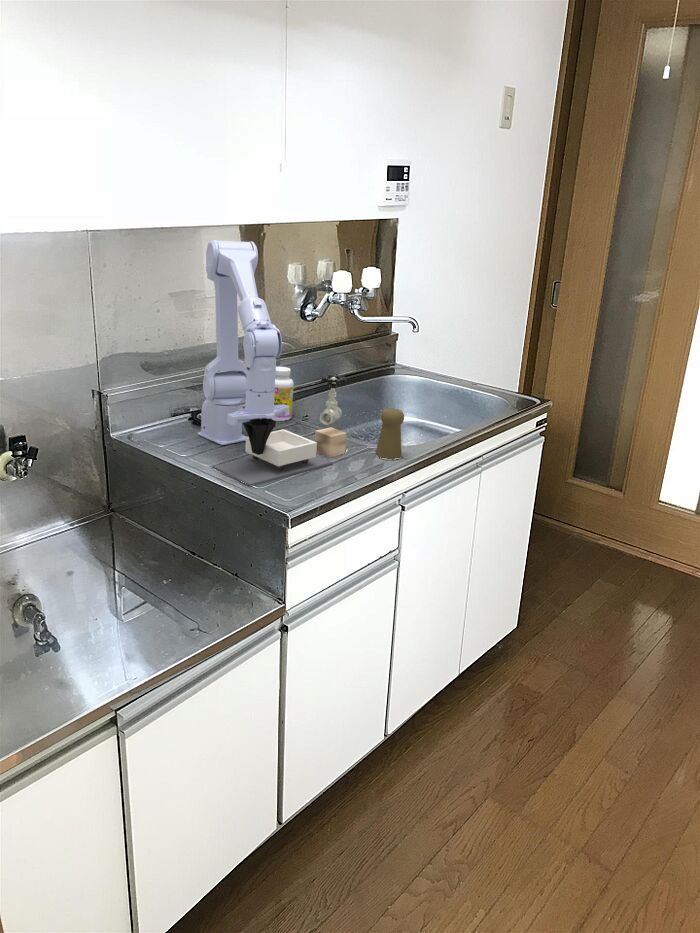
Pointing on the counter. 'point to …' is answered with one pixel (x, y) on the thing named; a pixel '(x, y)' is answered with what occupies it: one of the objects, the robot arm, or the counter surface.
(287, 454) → the white square tray
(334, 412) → the valve
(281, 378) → the supplement bottle
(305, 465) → the flat gray panel
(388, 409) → the cork
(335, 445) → the wooden block
